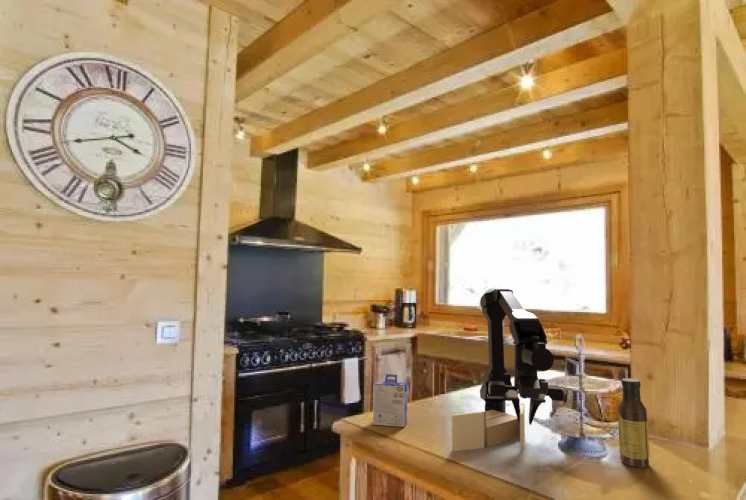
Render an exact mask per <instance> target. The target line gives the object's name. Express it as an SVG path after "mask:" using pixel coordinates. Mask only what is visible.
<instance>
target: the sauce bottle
mask: <svg viewBox="0 0 746 500" xmlns="http://www.w3.org/2000/svg"><path fill="white" fill-rule="evenodd" d="M620 383H621V386H622V399H621V401H620V402H619V404H618V406H617V420H618V443H619V444H618V445H619V447H618V448H619V455H620V461H621V462H622V463H623V464H625V465H627V466H629V467H634V468H637V469H638V468H639V469H641V468H642V469H643V468H648V466H649V465H650V460H649V459H650V444H649V443H650V441H649V424H648V423H649V420H648V411H647V408H646V406H645V405H644V403H643V402H642V398H641V380H639V379H636V378H631V377H629V378H621V382H620Z"/></svg>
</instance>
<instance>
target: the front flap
mask: <svg viewBox="0 0 746 500" xmlns="http://www.w3.org/2000/svg"><path fill="white" fill-rule="evenodd" d="M486 448H487V447H486V412H485V411H476V412H474V411H473V412H465V413H464V412H463V413H453V414H451V451H452V452H461V451H468V450H469V451H470V450H478V449H486Z"/></svg>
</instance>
